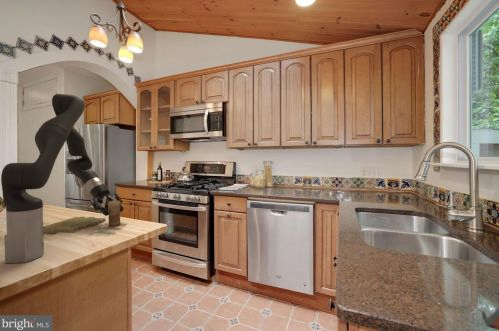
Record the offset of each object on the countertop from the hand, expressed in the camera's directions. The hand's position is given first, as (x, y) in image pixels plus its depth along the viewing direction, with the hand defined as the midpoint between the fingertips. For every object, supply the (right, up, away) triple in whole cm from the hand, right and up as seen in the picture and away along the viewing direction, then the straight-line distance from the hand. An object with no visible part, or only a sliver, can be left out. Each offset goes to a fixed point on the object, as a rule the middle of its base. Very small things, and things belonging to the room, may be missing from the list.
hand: (115, 212), depth 115 cm
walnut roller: (-1, -6, 0) cm, 7 cm away
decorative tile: (-19, -8, 0) cm, 21 cm away
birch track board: (0, -8, -5) cm, 9 cm away
